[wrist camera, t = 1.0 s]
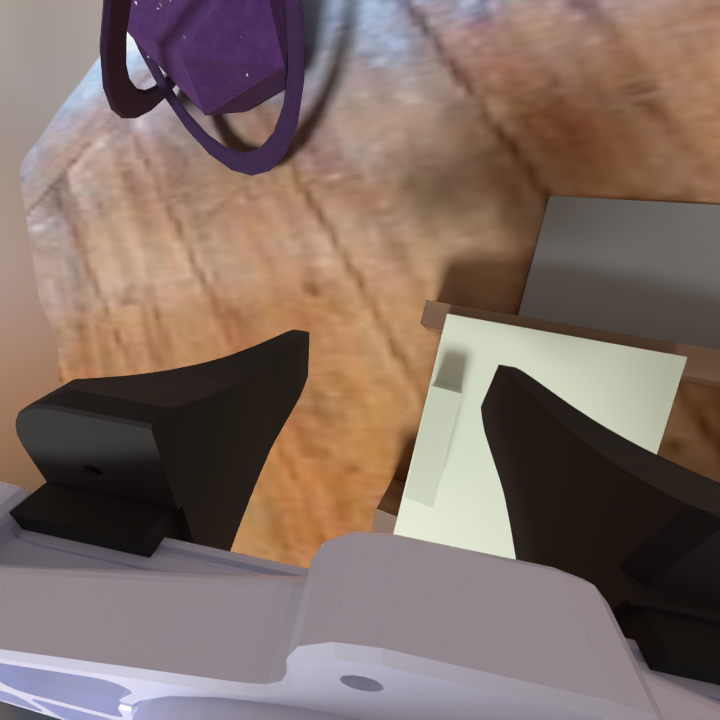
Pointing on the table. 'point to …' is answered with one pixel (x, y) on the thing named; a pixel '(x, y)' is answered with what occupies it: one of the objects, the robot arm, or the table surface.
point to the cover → (466, 432)
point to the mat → (628, 268)
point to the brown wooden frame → (699, 367)
